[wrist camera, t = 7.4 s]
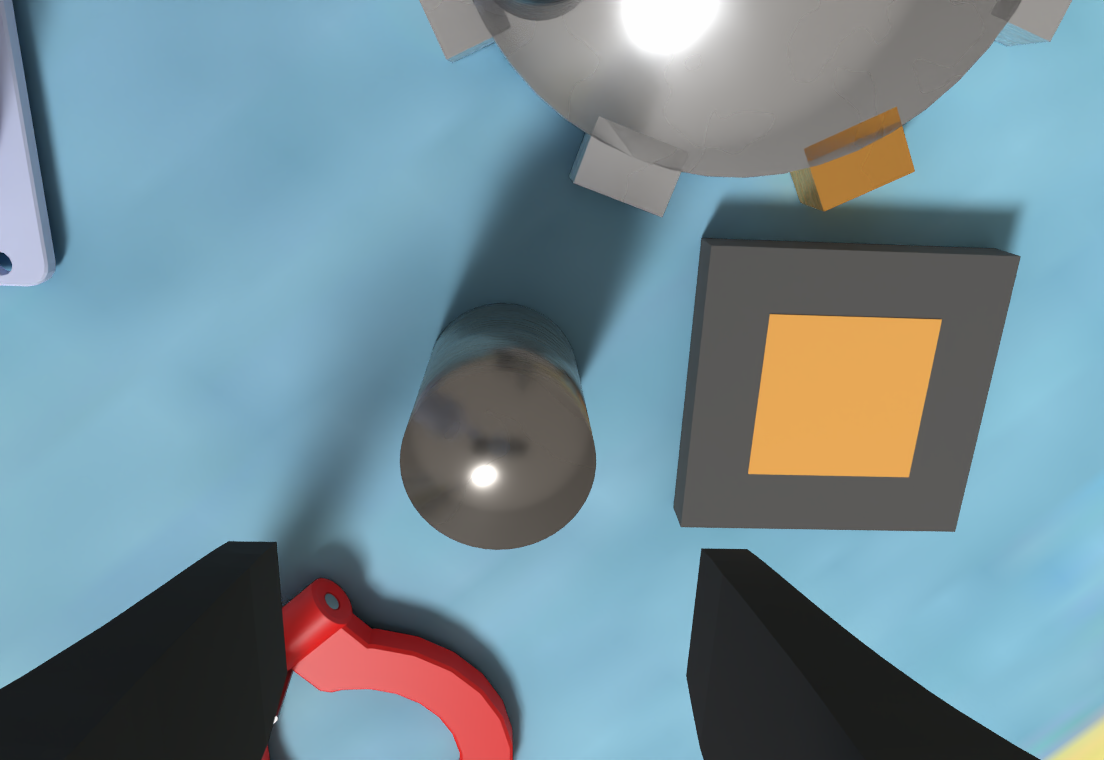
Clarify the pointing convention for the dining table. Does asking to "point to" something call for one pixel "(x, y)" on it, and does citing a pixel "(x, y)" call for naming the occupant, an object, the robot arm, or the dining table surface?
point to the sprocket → (740, 81)
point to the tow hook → (391, 669)
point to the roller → (499, 431)
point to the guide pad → (837, 383)
